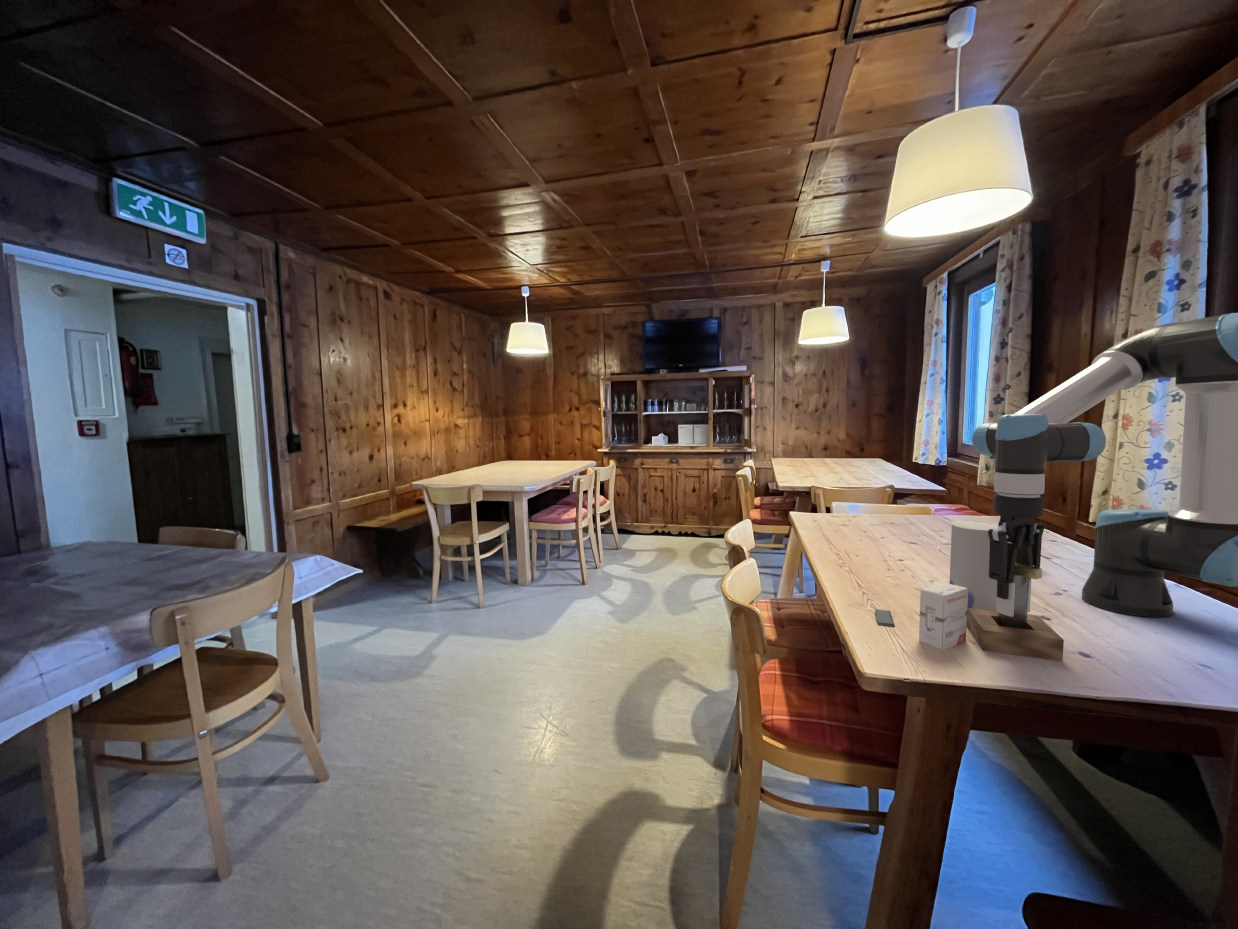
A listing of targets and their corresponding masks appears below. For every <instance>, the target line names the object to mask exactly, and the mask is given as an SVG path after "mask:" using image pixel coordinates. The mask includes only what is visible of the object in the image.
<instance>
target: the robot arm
mask: <svg viewBox="0 0 1238 929" xmlns="http://www.w3.org/2000/svg"><path fill="white" fill-rule="evenodd" d="M1090 364H1091V365H1089V366H1087V367H1086V368H1085V369H1083V370H1081V371H1080V372H1078V373H1076V374H1075V375H1074V376H1072V377H1070V378H1068V379H1067V380H1065V381H1064V382H1062V383H1060V384H1059V385H1057V386H1056V387H1054V388H1053V389H1051V390H1049V391H1047V392H1046V393H1044V394H1043V395H1040V397H1038V398H1037V399H1035V400H1034V401H1032V402H1030V403H1029V404H1028V405H1026V406H1024V407H1022V408H1021V409H1019V410H1018V411H1016V412H1015V413H1013V414H1003V415H1000V417H998V419H997V422H996V421H995V422H994V421H992V422H991V421H990V422H986V423H982V424H980V425H978V426H977V427H976V428H975V430H974V431H973V432H972V433H973V434H972V436H971V443H972V445H973V446H972V447H973V449H974V450H975V451H976V452H977V453H978V454H980V455H983V456H987V457H988V456H989V457H994V459H995V461H994V463H995V464H994V466H995V467H994V476H993V479H994V486H993V488H994V489H993V491H994V492H996V494H994V495H993V506H992V510H993V512H994V514H997V515H999V517H1000V518H999V520H998V524H997V525H998V528H997V529H989V530H988V535H989V539H990V552H989V578H991V579H994V580H997V599H996V612H998V613H1001V614H1004V615H1007V616H1010V617H1012V616H1014V597H1015V583H1012V579H1013V573H1014V568H1015V562H1016V563H1019V564H1024V565H1028V566H1032V567H1037V568H1041V559H1042V544H1043V543H1042V542H1043V541H1042V540H1043V534H1044V531H1045V525H1044V524H1042V523H1036V518H1040V517H1042V516H1043V515H1044V503H1045V502H1044V500H1045V499H1044V497H1043V496H1041V495H1044V494H1045V486H1046V485H1045V484H1046V482H1045V481H1046V464H1047V463H1061V462H1063V463H1067V462H1070V463H1071V462H1074V463H1080V462H1083V461H1091V460H1093V459H1096V458H1098V457H1099V456H1101V455H1102V453H1103V452H1104V450H1105V448H1106V446H1107V436H1106V433H1105V432H1104V431H1103V429H1101V427H1099V426H1098V425H1096V424H1093V423H1090V422H1081V421H1079V422H1078V421H1077V422H1071V421H1072V420H1075V418H1077V417H1079V416H1080V415H1082V414H1083V413H1085V412H1086V411H1088V410H1090V409H1091V408H1093V407H1095V406H1096V405H1098V404H1099V403H1101V402H1103V401H1104V400H1106V399H1107V398H1109V397H1110V396H1112V395H1113V394H1115V393H1117V392H1119V391H1122V390H1123V391H1124V390H1128V389H1131V388H1134V387H1136V386H1137V385H1139V384H1140V383H1143V382H1147V381H1154V380H1158V379H1167V378H1169V379H1171V378H1175V383H1174V384H1175V387H1176V388H1178V389H1179V390H1181V391H1182V392H1183V393H1184V394H1185V397H1184V398H1185V401H1184V413H1183V415H1184V417H1183V432H1182V433H1183V434H1182V435H1183V436H1182V450H1181V454H1182V455H1181V465H1180V468H1181V469H1180V484H1179V487H1180V488H1179V502H1178V507H1176V508H1175V509H1173V510H1171V511H1167V510H1163V509H1147V508H1146V509H1145V508H1144V509H1140V508H1139V509H1137V508H1134V509H1133V508H1132V509H1131V508H1127V509H1125V508H1121V509H1119V508H1118V509H1105V510H1102V511H1100V512H1099V513H1098V514H1097V518H1096V524H1095V526H1094V530H1095V532H1094V534H1095V535H1094V550H1093V551H1094V552H1093V554H1094V555H1093V568H1092V571H1091V572H1090V574H1089V575H1088V578H1087V579H1086V581H1085V583H1084V585H1083V587H1082V589H1081V599H1082V600H1083V601H1084V602H1085V603H1088V604H1090V605H1092V606H1095V607H1097V608H1101V609H1104V610H1108V611H1110V612H1116V613H1122V614H1126V615H1132V616H1136V617H1137V616H1139V617H1147V618H1148V617H1149V618H1165V617H1171V616H1172V615H1173V614H1174V603H1173V599H1172V597H1171V594H1170V591H1169V589H1168V587H1167V584H1166V581H1165V573H1170V574H1175V575H1179V576H1184V577H1187V578H1191V579H1194V580H1199V581H1202V582H1205V583H1208V584H1216V585H1221V586H1222V585H1223V586H1226V587H1234V588H1236V587H1238V312H1231V313H1224V314H1219V315H1214V316H1207V317H1201V318H1196V319H1191V320H1190V319H1189V320H1185V321H1184V320H1183V321H1179V322H1171V323H1165V324H1160V325H1157V326H1154V327H1150V328H1148V329H1145V330H1143V331H1140V332H1139V333H1136V334H1133V335H1131V336H1130V337H1127V338H1125V339H1124V340H1122V341H1120V342H1117V343H1116V344H1114V345H1113V346H1111V347H1109V348H1108V349H1106V350H1104V351H1103V352H1101V353H1099V354H1098V355H1096V356H1095V358H1094V359H1093V360H1092V361H1091V363H1090ZM1007 542H1011V543H1007ZM1037 580H1038V579H1035V581H1037ZM1031 592H1032V578H1029V591H1028V611H1027V613H1030V611H1031V596H1032V594H1031Z"/></svg>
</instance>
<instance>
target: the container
mask: <svg viewBox="0 0 1238 929" xmlns="http://www.w3.org/2000/svg"><path fill="white" fill-rule="evenodd" d="M997 528H998V524H993V523H988V522H982V521H981V522H980V521H965V520H964V521H954V522H952V523H951V534H950V558H949V559H950V560H949V561H950V562H949V584H952V585H957V586H961V587H965V588H967V589H968V606H967V608H973V609H982V610H992V611H996V599H997V580H994V579H991V578H989V552H990V539H989V535H988V530H989V529H997Z"/></svg>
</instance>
